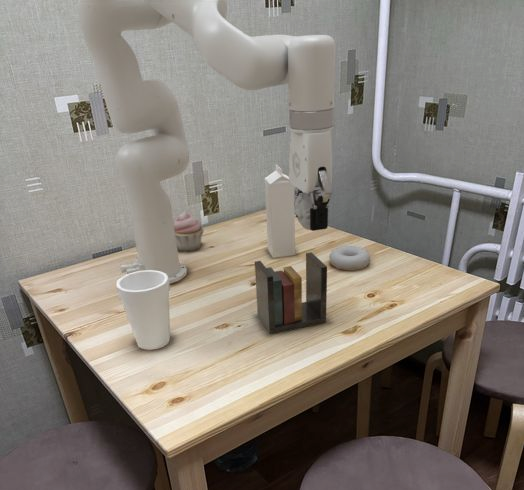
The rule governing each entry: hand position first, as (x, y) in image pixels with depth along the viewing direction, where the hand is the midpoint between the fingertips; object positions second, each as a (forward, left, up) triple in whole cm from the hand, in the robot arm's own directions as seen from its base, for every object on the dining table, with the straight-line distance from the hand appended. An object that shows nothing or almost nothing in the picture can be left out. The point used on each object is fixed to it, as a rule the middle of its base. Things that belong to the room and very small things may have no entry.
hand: (311, 222), depth 98 cm
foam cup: (-32, +2, -20) cm, 38 cm away
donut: (+19, +21, -20) cm, 35 cm away
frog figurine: (0, 0, -1) cm, 1 cm away
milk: (+6, +35, -20) cm, 41 cm away
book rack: (-4, 0, -20) cm, 20 cm away
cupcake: (-16, +49, -20) cm, 55 cm away
